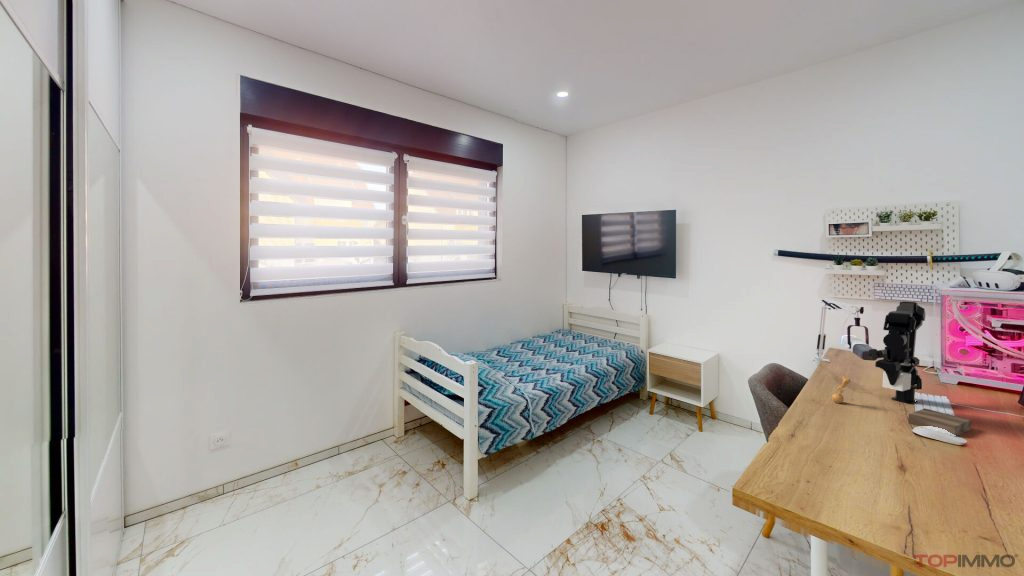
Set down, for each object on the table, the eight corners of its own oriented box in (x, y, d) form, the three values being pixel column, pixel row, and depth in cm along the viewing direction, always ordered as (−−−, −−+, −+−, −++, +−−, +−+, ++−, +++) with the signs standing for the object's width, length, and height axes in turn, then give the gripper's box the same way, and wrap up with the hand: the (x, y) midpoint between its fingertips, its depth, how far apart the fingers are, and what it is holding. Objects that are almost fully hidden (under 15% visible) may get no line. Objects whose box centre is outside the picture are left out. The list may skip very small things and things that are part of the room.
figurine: (835, 399, 170) (836, 372, 169) (853, 403, 164) (854, 375, 164) (827, 403, 165) (828, 375, 164) (845, 407, 160) (846, 379, 159)
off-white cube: (890, 384, 157) (891, 369, 157) (910, 388, 152) (911, 373, 151) (882, 386, 155) (883, 371, 154) (902, 391, 149) (903, 375, 149)
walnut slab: (924, 418, 149) (924, 408, 149) (970, 430, 138) (971, 419, 138) (908, 424, 144) (908, 413, 144) (954, 437, 133) (955, 426, 133)
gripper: (884, 338, 163) (883, 375, 164) (859, 343, 156) (858, 381, 157) (921, 343, 153) (919, 382, 154) (896, 348, 145) (894, 389, 147)
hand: (896, 383), depth 153 cm, fingers closed on off-white cube, 6 cm apart
